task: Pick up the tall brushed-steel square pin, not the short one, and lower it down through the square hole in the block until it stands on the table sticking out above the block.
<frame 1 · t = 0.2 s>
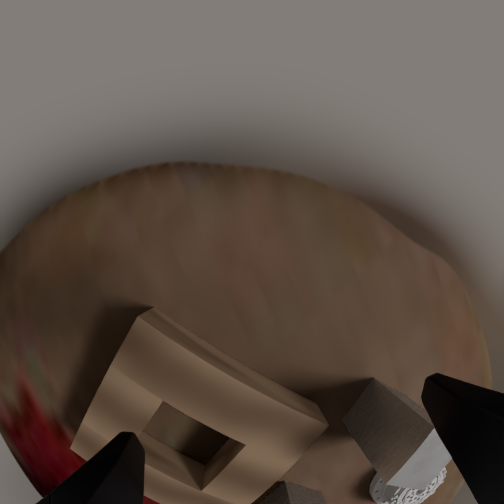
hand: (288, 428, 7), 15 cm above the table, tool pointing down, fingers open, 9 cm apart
hole block: (190, 426, 22), on the table
long pin: (375, 407, 23), on the table
mechanical component: (404, 470, 23), on the table
short pin: (289, 498, 22), on the table
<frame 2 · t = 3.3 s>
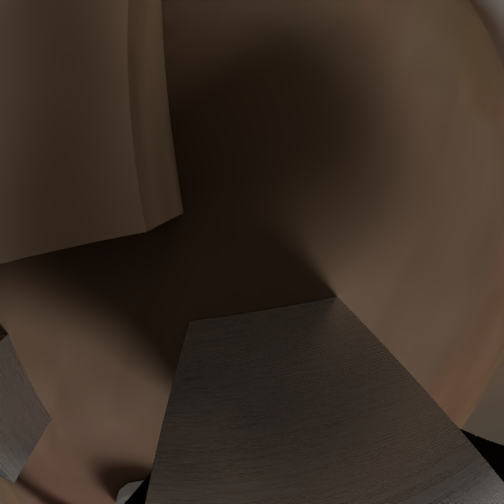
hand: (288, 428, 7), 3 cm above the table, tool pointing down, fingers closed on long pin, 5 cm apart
long pin: (273, 370, 10), on the table, touching gripper
short pin: (2, 376, 9), on the table
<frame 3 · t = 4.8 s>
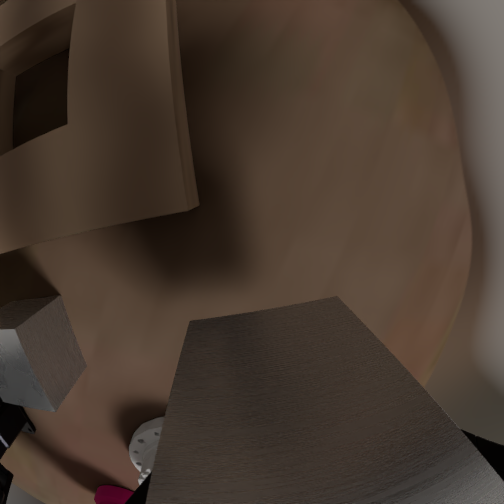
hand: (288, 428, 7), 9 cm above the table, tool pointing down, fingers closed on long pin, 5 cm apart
hole block: (52, 101, 12), on the table
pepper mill: (125, 497, 19), on the table
long pin: (273, 370, 10), point 6 cm above the table, touching gripper
mechanical component: (195, 451, 18), on the table
short pin: (47, 333, 15), on the table
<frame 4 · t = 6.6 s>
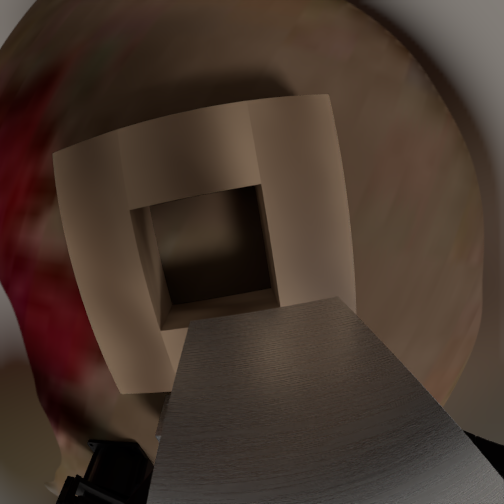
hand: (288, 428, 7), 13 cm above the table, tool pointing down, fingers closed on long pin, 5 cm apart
hole block: (210, 247, 19), on the table
long pin: (273, 370, 10), point 10 cm above the table, touching gripper
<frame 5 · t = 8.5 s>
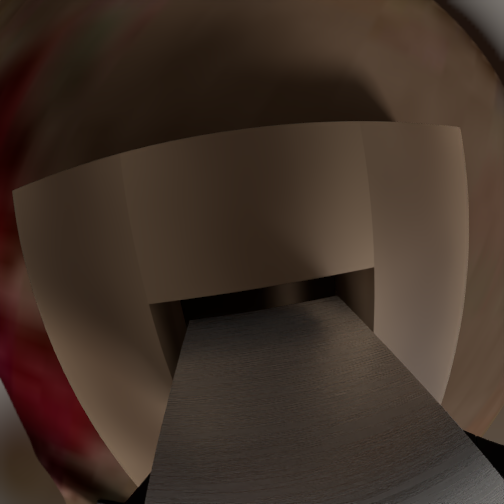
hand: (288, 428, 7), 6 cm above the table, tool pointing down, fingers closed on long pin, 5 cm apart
hole block: (264, 329, 13), on the table
long pin: (273, 369, 10), point 3 cm above the table, touching gripper
when the fingers open (5 cm above the table, at t = 10.0 s): long pin drops 2 cm, resting in hole block.
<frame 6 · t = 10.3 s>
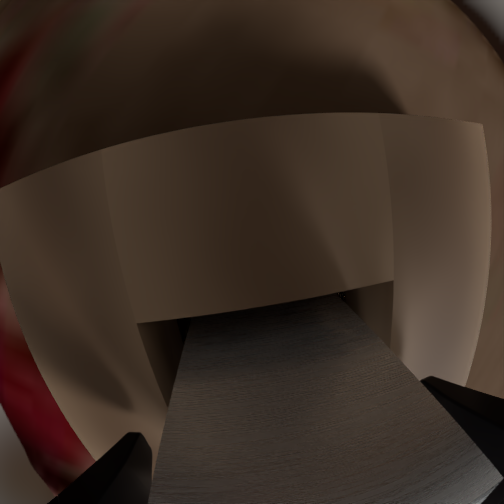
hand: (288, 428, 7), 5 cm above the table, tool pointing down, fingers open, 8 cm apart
hole block: (267, 343, 12), on the table
long pin: (267, 343, 12), resting in hole block
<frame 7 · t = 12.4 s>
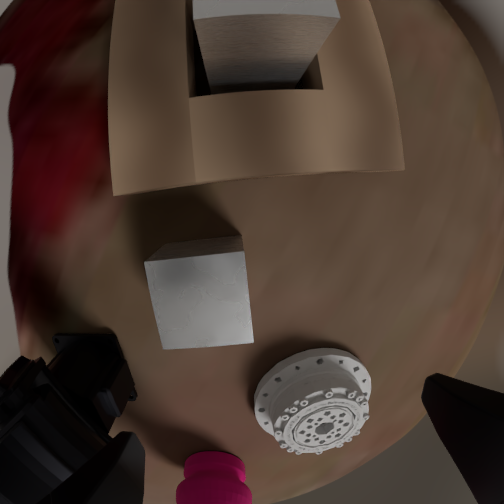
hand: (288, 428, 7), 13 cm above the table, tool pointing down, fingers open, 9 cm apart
hole block: (247, 64, 16), on the table
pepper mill: (214, 464, 24), on the table
long pin: (247, 64, 16), resting in hole block
mechanical component: (311, 392, 22), on the table
short pin: (208, 275, 19), on the table
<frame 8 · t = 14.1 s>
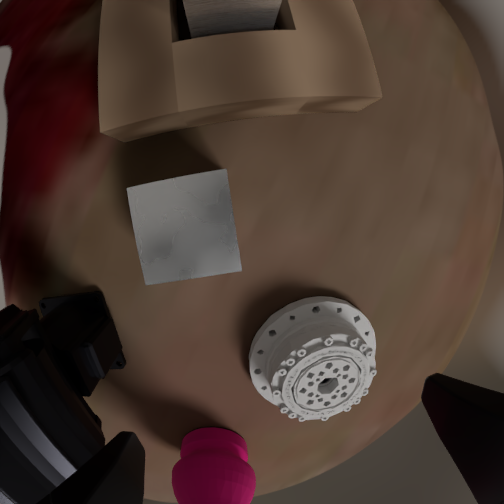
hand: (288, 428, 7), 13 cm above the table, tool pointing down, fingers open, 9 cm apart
hole block: (227, 23, 16), on the table
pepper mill: (214, 444, 23), on the table
long pin: (227, 23, 16), resting in hole block
mechanical component: (311, 351, 22), on the table
short pin: (195, 218, 19), on the table
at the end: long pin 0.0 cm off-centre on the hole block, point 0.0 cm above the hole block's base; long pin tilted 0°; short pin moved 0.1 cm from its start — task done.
